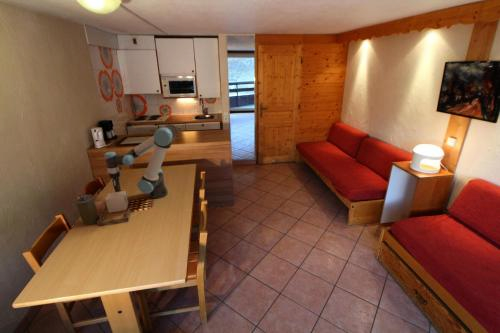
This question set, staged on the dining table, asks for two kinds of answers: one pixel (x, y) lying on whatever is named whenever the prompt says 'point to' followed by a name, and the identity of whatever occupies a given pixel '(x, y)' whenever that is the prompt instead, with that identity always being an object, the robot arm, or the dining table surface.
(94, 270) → the dining table surface
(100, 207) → the brown small blob
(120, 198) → the carton
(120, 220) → the display bay
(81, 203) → the canister
